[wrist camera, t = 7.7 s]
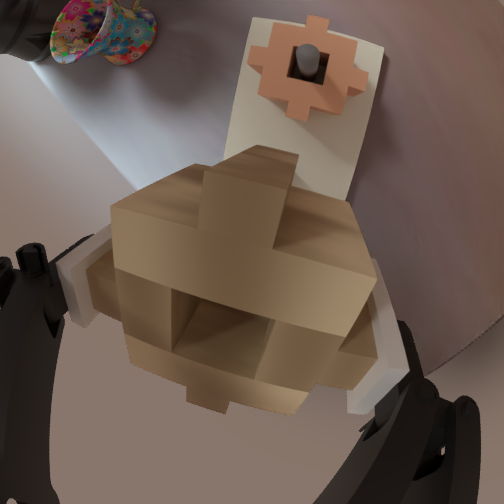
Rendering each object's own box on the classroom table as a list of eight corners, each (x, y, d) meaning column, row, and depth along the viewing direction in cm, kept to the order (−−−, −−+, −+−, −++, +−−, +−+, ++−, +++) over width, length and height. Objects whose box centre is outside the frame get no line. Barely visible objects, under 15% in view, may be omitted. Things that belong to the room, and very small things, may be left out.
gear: (162, 297, 16) (110, 367, 11) (172, 129, 11) (76, 150, 6) (318, 343, 15) (311, 433, 10) (387, 182, 10) (448, 244, 5)
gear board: (219, 197, 32) (179, 236, 23) (254, 20, 21) (225, -22, 12) (333, 227, 31) (342, 281, 21) (381, 50, 20) (416, 20, 10)
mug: (129, 80, 27) (70, 79, 18) (96, 48, 25) (40, 44, 15) (192, 11, 21) (146, -19, 12) (151, -16, 19) (103, -41, 10)
